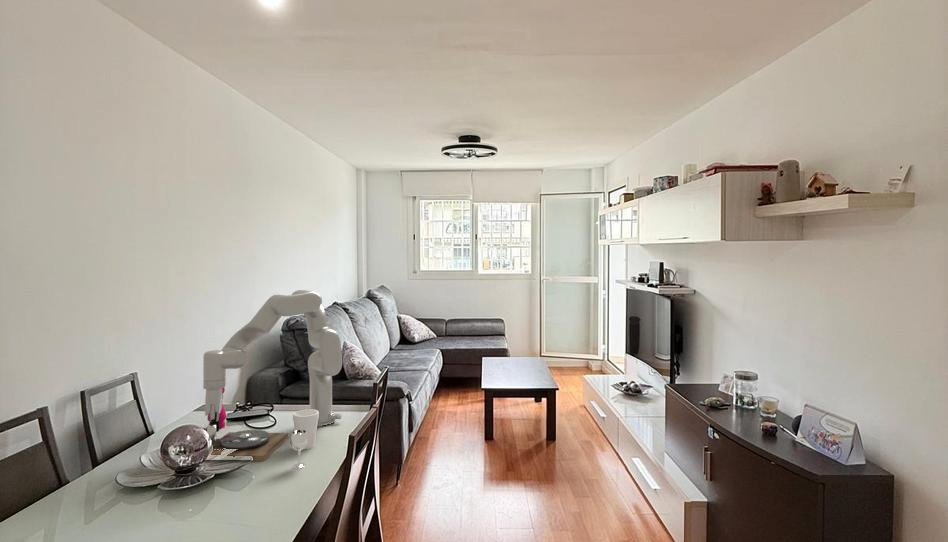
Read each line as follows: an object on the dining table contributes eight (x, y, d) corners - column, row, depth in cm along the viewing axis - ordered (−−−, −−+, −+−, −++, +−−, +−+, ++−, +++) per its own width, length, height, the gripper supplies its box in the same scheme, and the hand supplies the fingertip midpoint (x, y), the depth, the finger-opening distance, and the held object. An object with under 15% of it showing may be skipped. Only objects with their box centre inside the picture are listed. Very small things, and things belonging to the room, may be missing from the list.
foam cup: (287, 449, 194) (287, 415, 194) (301, 441, 203) (301, 408, 203) (310, 451, 192) (310, 417, 191) (323, 443, 201) (323, 410, 200)
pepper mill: (220, 430, 215) (221, 382, 214) (203, 429, 215) (203, 382, 215) (229, 424, 222) (229, 378, 222) (213, 424, 222) (213, 378, 222)
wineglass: (286, 467, 177) (286, 433, 177) (299, 461, 182) (299, 428, 182) (298, 470, 174) (298, 435, 174) (311, 464, 180) (311, 430, 179)
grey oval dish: (271, 431, 205) (271, 414, 205) (267, 446, 189) (267, 427, 189) (211, 437, 199) (211, 419, 198) (202, 452, 182) (202, 433, 182)
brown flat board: (288, 437, 206) (288, 432, 206) (263, 461, 182) (263, 455, 182) (224, 437, 206) (224, 431, 206) (191, 460, 182) (191, 454, 182)
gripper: (206, 379, 200) (206, 426, 200) (200, 388, 186) (200, 439, 186) (227, 378, 203) (227, 424, 203) (223, 387, 189) (223, 436, 189)
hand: (214, 431), depth 195 cm, fingers closed
